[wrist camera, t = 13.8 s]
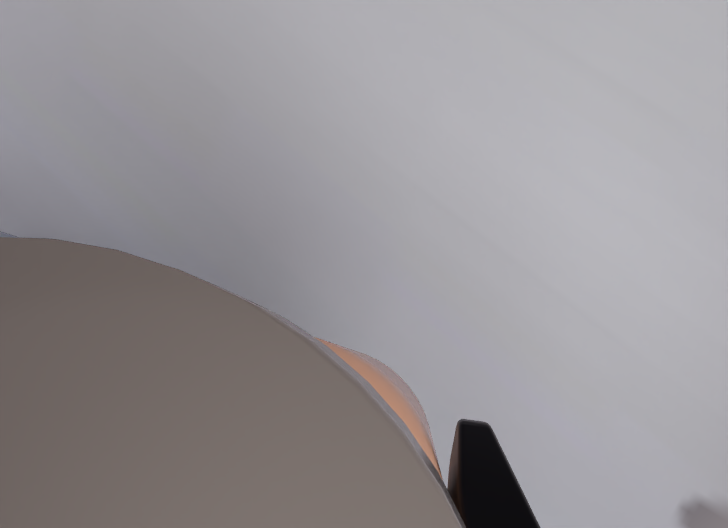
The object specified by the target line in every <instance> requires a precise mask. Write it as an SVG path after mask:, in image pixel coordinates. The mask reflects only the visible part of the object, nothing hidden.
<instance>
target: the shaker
mask: <svg viewBox="0 0 728 528" xmlns="http://www.w3.org/2000/svg"><path fill="white" fill-rule="evenodd" d="M0 528H466V526H465V524H464V522H463V520H462V518H461V516H460V514H459V512H458V510H457V508H456V506H455V504H454V502H453V500H452V498H451V496H450V494H449V492H448V490H447V488H446V486H445V484H444V482H443V480H442V476H441V472H440V468H439V464H438V460H437V456H436V452H435V448H434V444H433V440H432V436H431V432H430V428H429V424H428V422H427V419H426V416H425V413H424V411H423V409H422V407H421V405H420V403H419V401H418V399H417V397H416V396H415V394H414V393H413V392H412V390H411V389H410V387H409V386H408V385H407V384H406V383H405V382H404V380H403V379H402V378H401V377H400V376H399V375H398V374H396V373H395V372H394V371H393V370H392V369H391V368H389V367H388V366H386V365H385V364H383V363H382V362H380V361H379V360H376V359H374V358H372V357H370V356H368V355H366V354H363V353H360V352H357V351H354V350H351V349H348V348H345V347H342V346H339V345H336V344H333V343H330V342H327V341H324V340H321V339H318V338H315V337H313V336H311V335H310V334H308V333H307V332H305V331H304V330H302V329H301V328H299V327H298V326H296V325H295V324H293V323H292V322H290V321H289V320H287V319H286V318H284V317H282V316H280V315H278V314H276V313H274V312H272V311H270V310H268V309H266V308H264V307H262V306H259V305H257V304H255V303H253V302H251V301H249V300H247V299H245V298H243V297H241V296H239V295H237V294H234V293H232V292H230V291H227V290H225V289H223V288H220V287H218V286H216V285H213V284H211V283H209V282H206V281H204V280H202V279H199V278H197V277H195V276H192V275H190V274H188V273H185V272H183V271H181V270H178V269H175V268H172V267H168V266H165V265H162V264H159V263H156V262H153V261H150V260H147V259H143V258H140V257H137V256H134V255H131V254H128V253H125V252H122V251H118V250H114V249H108V248H102V247H97V246H91V245H85V244H79V243H74V242H68V241H62V240H56V239H39V238H10V237H0Z"/></svg>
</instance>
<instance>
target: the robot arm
mask: <svg viewBox="0 0 728 528" xmlns="http://www.w3.org/2000/svg"><path fill="white" fill-rule="evenodd" d="M447 490H448V492H449V494H450V496H451V498H452V500H453V502H454V504H455V506H456V508H457V510H458V512H459V514H460V516H461V518H462V520H463V522H464V524H465V526H466V528H540V526H539V524H538V522H537V520H536V518H535V516H534V514H533V512H532V510H531V508H530V505H529V503H528V501H527V499H526V497H525V495H524V493H523V491H522V489H521V487H520V485H519V483H518V481H517V479H516V477H515V475H514V473H513V471H512V469H511V467H510V464H509V462H508V460H507V458H506V456H505V454H504V452H503V450H502V448H501V446H500V444H499V442H498V440H497V438H496V436H495V434H494V432H493V430H492V428H491V426H490V425H489V424H488V423H486V422H482V421H474V420H467V419H461V420H459V421H458V423H457V426H456V431H455V437H454V442H453V447H452V453H451V458H450V466H449V476H448V489H447Z"/></svg>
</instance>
